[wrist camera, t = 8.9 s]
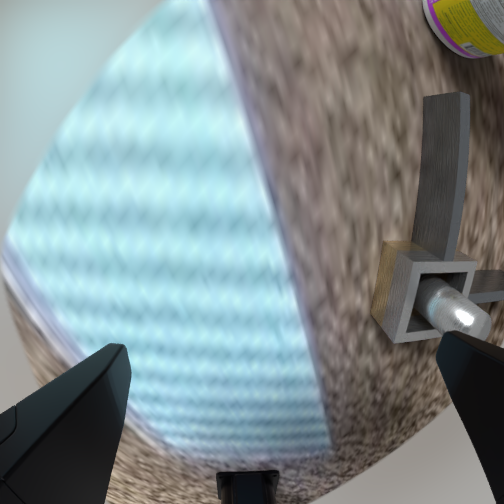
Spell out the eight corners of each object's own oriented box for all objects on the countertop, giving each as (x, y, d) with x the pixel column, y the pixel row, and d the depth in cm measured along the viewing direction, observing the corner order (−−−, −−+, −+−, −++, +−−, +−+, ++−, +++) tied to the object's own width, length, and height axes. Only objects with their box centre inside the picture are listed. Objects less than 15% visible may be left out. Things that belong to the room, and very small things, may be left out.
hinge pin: (419, 293, 22) (481, 350, 14) (390, 294, 21) (450, 358, 14) (426, 260, 21) (496, 310, 13) (397, 260, 20) (466, 315, 13)
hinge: (491, 301, 23) (518, 321, 19) (370, 313, 22) (393, 343, 18) (519, 131, 18) (553, 134, 14) (394, 89, 17) (429, 81, 13)
